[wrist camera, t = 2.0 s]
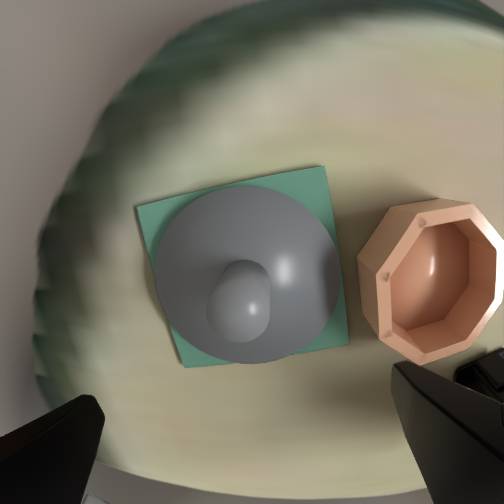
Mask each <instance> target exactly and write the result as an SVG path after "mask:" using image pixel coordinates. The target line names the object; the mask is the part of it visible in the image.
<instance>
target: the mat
mask: <svg viewBox="0 0 504 504" xmlns="http://www.w3.org/2000/svg"><path fill="white" fill-rule="evenodd" d="M236 186H256V187H264V188H268V189H272V190H275V191H278V192H281V193H283V194H285V195H288V196H290V197H291V198H293V199H295V200H297V201H298V202H300V203H301V204H302V205H304V206H305V207H306V208H307V209H309V210H310V211H311V212H312V213H313V214H314V215H315V216H316V217H317V218H318V219H319V220H320V221H321V223H322V224H323V226H324V227H325V228H326V230H327V231H328V233H329V235H330V237H331V239H332V241H333V243H334V245H335V248H336V251H337V254H338V258H339V263H340V273H341V281H340V291H339V296H338V300H337V303H336V306H335V309H334V311H333V313H332V315H331V317H330V319H329V321H328V322H327V324H326V325H325V327H324V328H323V329H322V331H321V332H320V333H319V334H318V335H317V336H316V337H315V338H314V339H313V340H312V341H311V342H310V343H308V344H307V345H306V346H305V347H303V348H302V349H300V350H298V351H297V352H295V353H293V354H291V355H294V354H300V353H306V352H311V351H317V350H322V349H327V348H332V347H337V346H341V345H346V344H349V336H348V325H347V314H346V304H345V295H344V286H343V278H342V270H341V262H340V255H339V248H338V241H337V234H336V228H335V222H334V216H333V210H332V204H331V198H330V193H329V187H328V182H327V177H326V172H325V167H324V166H320V167H314V168H308V169H302V170H297V171H291V172H286V173H280V174H275V175H270V176H265V177H260V178H255V179H250V180H245V181H241V182H236V183H231V184H227V185H222V186H218V187H214V188H209V189H205V190H201V191H196V192H192V193H188V194H184V195H180V196H176V197H172V198H168V199H164V200H161V201H157V202H153V203H149V204H146V205H142V206H138V207H137V210H138V214H139V219H140V223H141V227H142V231H143V235H144V239H145V243H146V247H147V251H148V255H149V258H150V262H151V266H152V269H153V273H154V276H155V261H156V255H157V251H158V248H159V244H160V242H161V239H162V237H163V235H164V233H165V231H166V230H167V228H168V226H169V225H170V223H171V222H172V221H173V220H174V218H175V217H176V216H177V215H178V214H179V213H180V212H181V211H182V210H183V209H184V208H185V207H187V206H188V205H189V204H190V203H192V202H193V201H195V200H197V199H198V198H200V197H202V196H204V195H206V194H208V193H211V192H214V191H217V190H220V189H224V188H230V187H236ZM167 319H168V318H167ZM168 322H169V325H170V328H171V331H172V334H173V337H174V340H175V343H176V346H177V349H178V351H179V354H180V357H181V360H182V363H183V365H184V368H191V367H203V366H213V365H223V364H232V363H234V362H229V361H225V360H221V359H218V358H216V357H213V356H210V355H208V354H206V353H204V352H203V351H201V350H199V349H197V348H196V347H194V346H193V345H192V344H190V343H189V342H188V341H187V340H186V339H184V338H183V337H182V336H181V335H180V334H179V333H178V332H177V330H176V329H175V328H174V327H173V325H172V324H171V323H170V321H169V320H168Z"/></svg>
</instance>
